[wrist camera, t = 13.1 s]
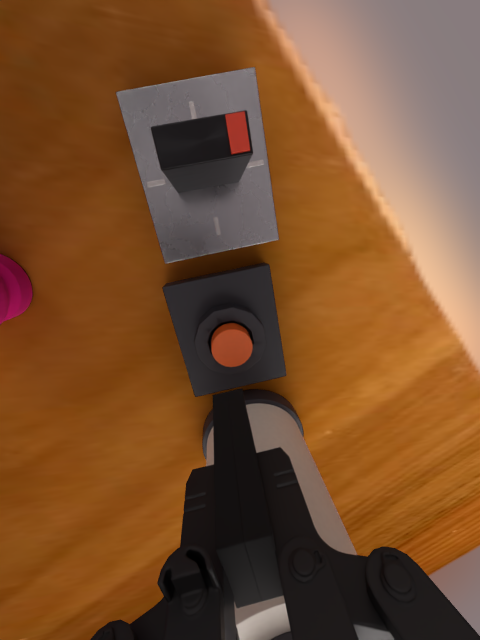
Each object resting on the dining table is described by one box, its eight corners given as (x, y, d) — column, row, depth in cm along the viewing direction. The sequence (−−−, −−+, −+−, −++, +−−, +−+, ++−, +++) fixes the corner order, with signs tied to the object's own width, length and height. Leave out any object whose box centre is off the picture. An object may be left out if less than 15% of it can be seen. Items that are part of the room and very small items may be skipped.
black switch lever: (177, 193, 20) (159, 169, 13) (170, 164, 19) (148, 123, 12) (239, 181, 20) (254, 152, 13) (235, 153, 19) (248, 106, 13)
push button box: (166, 283, 25) (158, 291, 21) (264, 262, 25) (274, 266, 21) (196, 385, 29) (194, 408, 25) (281, 366, 29) (291, 385, 25)
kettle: (184, 378, 28) (138, 623, 10) (288, 354, 29) (417, 548, 11) (217, 485, 34) (225, 769, 16) (304, 464, 34) (408, 714, 16)
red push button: (207, 327, 23) (207, 334, 21) (245, 318, 23) (248, 325, 21) (216, 362, 24) (216, 371, 22) (252, 353, 24) (255, 362, 23)
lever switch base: (128, 112, 20) (114, 90, 17) (249, 89, 21) (255, 65, 18) (170, 260, 24) (164, 263, 21) (271, 239, 25) (279, 239, 22)
